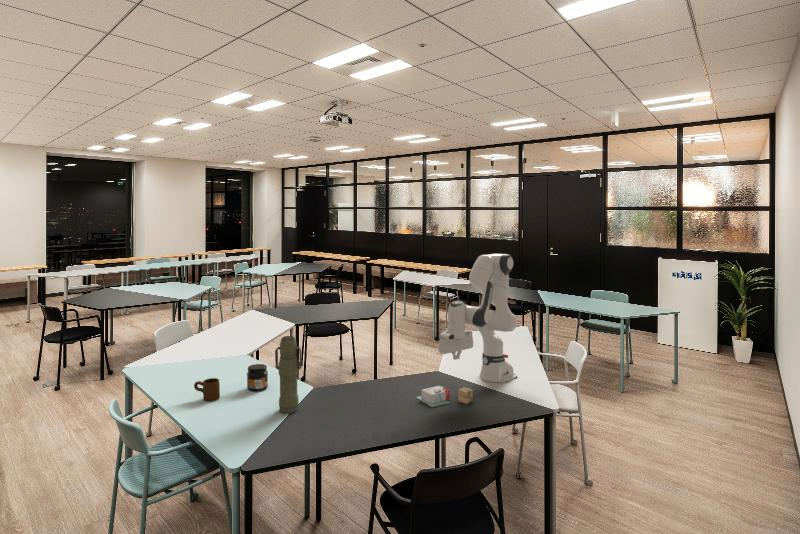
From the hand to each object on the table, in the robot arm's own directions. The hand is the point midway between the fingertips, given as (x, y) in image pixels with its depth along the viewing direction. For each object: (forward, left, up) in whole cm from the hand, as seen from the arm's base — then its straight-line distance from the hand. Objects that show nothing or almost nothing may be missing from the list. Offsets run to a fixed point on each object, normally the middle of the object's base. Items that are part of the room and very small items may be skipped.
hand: (456, 359), depth 235 cm
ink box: (+7, 0, -16) cm, 18 cm away
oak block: (+1, +9, -19) cm, 21 cm away
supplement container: (+86, -59, -19) cm, 106 cm away
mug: (+111, -57, -19) cm, 126 cm away
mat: (+15, 0, -19) cm, 24 cm away
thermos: (+81, -24, -19) cm, 86 cm away
